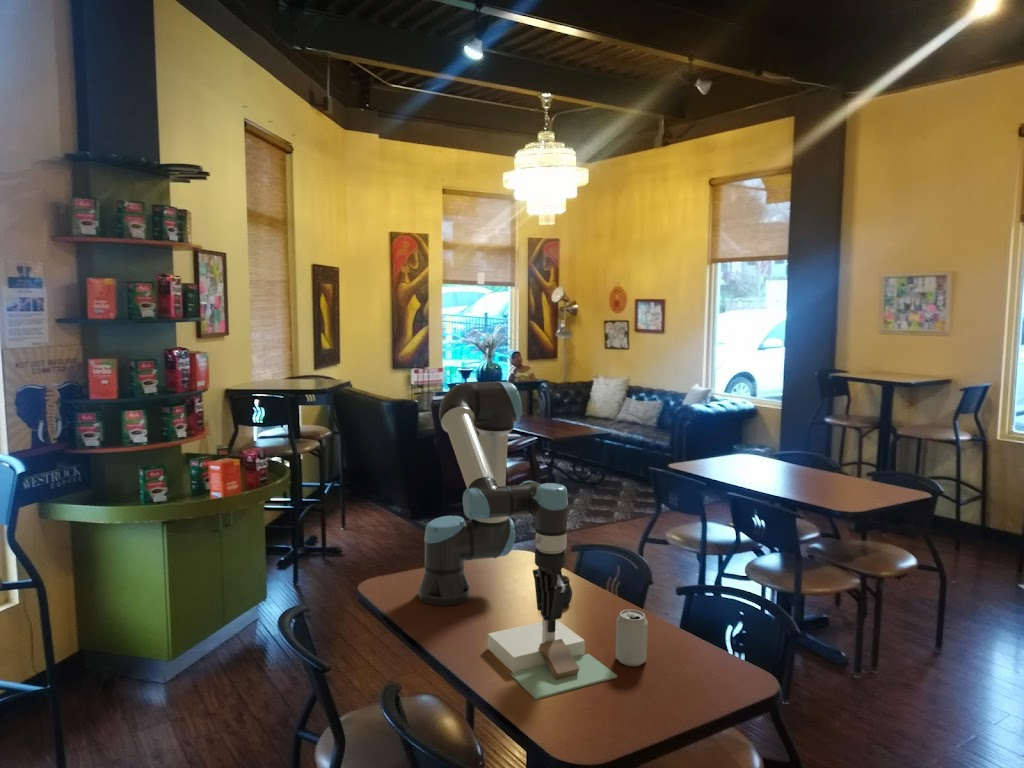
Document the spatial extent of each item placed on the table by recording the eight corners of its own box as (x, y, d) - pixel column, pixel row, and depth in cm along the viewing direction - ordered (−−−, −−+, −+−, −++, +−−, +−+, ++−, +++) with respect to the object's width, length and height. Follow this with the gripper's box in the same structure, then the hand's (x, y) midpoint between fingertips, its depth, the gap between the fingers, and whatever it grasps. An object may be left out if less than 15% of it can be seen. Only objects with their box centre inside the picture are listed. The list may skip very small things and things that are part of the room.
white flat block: (487, 648, 183) (488, 633, 182) (555, 633, 192) (555, 618, 192) (513, 673, 170) (514, 657, 170) (584, 655, 180) (584, 640, 179)
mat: (510, 675, 170) (510, 673, 170) (588, 655, 180) (588, 653, 180) (535, 699, 159) (536, 697, 159) (617, 677, 169) (617, 675, 169)
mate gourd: (559, 611, 206) (560, 577, 205) (541, 603, 212) (541, 570, 211) (577, 605, 211) (577, 571, 210) (558, 597, 216) (559, 565, 215)
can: (627, 670, 173) (629, 622, 171) (609, 657, 179) (610, 610, 178) (652, 664, 176) (654, 616, 175) (633, 651, 183) (635, 605, 182)
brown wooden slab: (538, 649, 174) (540, 643, 173) (559, 644, 176) (561, 638, 175) (555, 679, 167) (557, 673, 166) (577, 674, 170) (579, 668, 169)
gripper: (523, 543, 177) (522, 635, 179) (551, 559, 165) (548, 657, 168) (550, 539, 180) (548, 629, 183) (578, 554, 169) (576, 651, 171)
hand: (548, 642), depth 175 cm, fingers closed
